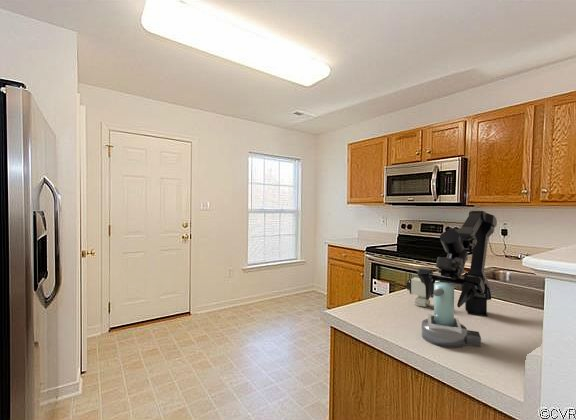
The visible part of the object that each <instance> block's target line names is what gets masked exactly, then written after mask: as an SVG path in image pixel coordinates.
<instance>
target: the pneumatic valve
mask: <svg viewBox="0 0 576 420" xmlns="http://www.w3.org/2000/svg"><path fill="white" fill-rule="evenodd" d="M433 285H434V284H433ZM406 290H407V291H409V295H415V296H417V297H416V298H415V299H414V303H415V305H416V306H417V307H421V308H427V307H428V306H430V305H431V300H430V299H429V300H427V299H426V288H425V285H424V283H422V282H421V280H420V278H419V277H416V276H412V277H411V278H409V279H407V281H406ZM433 292H434V288H433V291H432V293H431V296H430V298H432V299H434V293H433Z"/></svg>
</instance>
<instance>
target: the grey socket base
mask: <svg viewBox="0 0 576 420" xmlns="http://www.w3.org/2000/svg"><path fill="white" fill-rule="evenodd" d="M421 337H422V339H423V340H424V341H426V342H427V343H430V344H432V345H434V346H438V347H442V348H447V349H448V348H449V349H459V348H461V349H462V348H465V347H466V346H472V347H479V348H481V346H482V345H481V343H482V342H481V341H482V338H481V337H482V336H481V334H480V331H476V330H470V329H467V327H466V326H465V325H464V324H461V323H460V319H459V318H458V317H454V327H452V326H445V325H438V324H434V314H427V318H426V319H423V320H422V321H421Z"/></svg>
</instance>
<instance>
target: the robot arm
mask: <svg viewBox="0 0 576 420" xmlns="http://www.w3.org/2000/svg"><path fill="white" fill-rule="evenodd" d="M497 220H498V219H497V217H496V216H495V215H493V214H491V213H487V212H486V211H484V210H471V211H470V210H469V212H468V216H467V218H466V219H465V221H464V222H463V224H462V225H461V227H460V228H456V227H454V228H453V227H449V228H448V230H445V231H443V232H442V233H441V234H440V235H439V240H440V243H441V245H442V246H443V247H442V248H443V249H444V251H445V253H447V254H446V257H442V256H438V257H437V258H436V263H435V267H436V268H438V271H437V272H438V273H440V274H435V273H434V272H433V270H432V269H430V268H423V267H421V268H419V269H418V270H417V272H416V273H417V276H418V278H420V280H421V282H422V283H424V285H425V288H426V299H427V300H430V298H431V297H430V296H431V293H432V291H433V288H434V285H433V284H434V283H436V282H443V283H450V284H453V285H456V286H457V285H458V286H461V292H460V295H459V297H458V301H457V304H456V305H457V308H460V307H462V306H463V305H464V309H465V311H466V312H467V314H468V315H474V316H482V317H484V316H485V317H488V316H489V314H488V303H487V302H488V301H489V300H490V301H492V290H491V288H490V285H489V280H488V279H487V276H486V274H485V267H486V259H487V252H488V251H487V250H488V244H489V238H490V237H491V235H493V233H494V232H495V227H497V224H498V221H497ZM468 250H472V254H471V259H470V261H471V262H470V269H469V270H468V271H466V272H465V265H466V262H467V261H468V255H469V253H468ZM462 275H463V278H462Z"/></svg>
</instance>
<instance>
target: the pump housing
mask: <svg viewBox="0 0 576 420" xmlns="http://www.w3.org/2000/svg"><path fill="white" fill-rule="evenodd" d="M433 293H434V297H433V315H434V324H438V325H445V326H452V327H454V318H455V284H451V283H447V282H441V281H436V282H435V283H434V292H433Z"/></svg>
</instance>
